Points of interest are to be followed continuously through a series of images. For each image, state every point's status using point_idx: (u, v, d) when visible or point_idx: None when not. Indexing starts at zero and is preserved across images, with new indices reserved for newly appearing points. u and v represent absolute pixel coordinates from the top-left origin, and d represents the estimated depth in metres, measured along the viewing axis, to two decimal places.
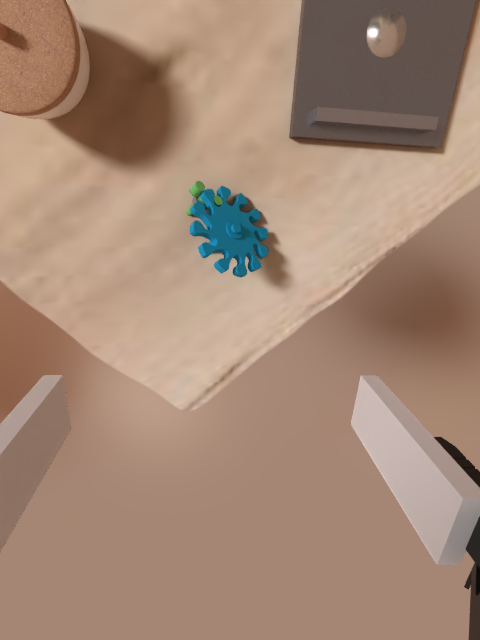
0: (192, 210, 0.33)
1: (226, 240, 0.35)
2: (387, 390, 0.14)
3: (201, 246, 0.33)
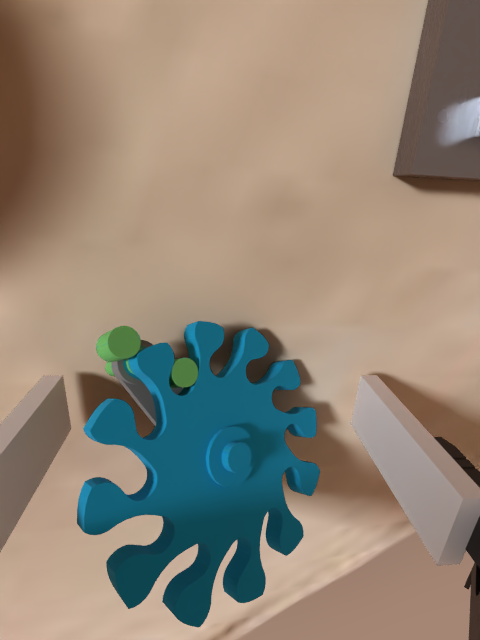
0: (89, 435, 0.10)
1: (205, 505, 0.11)
2: (387, 390, 0.14)
3: (113, 576, 0.09)
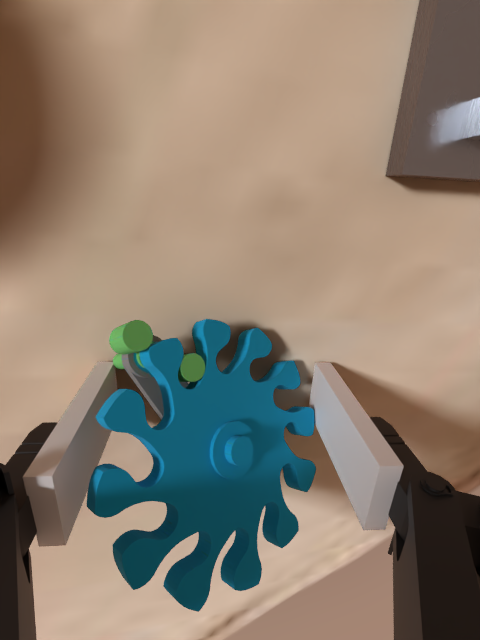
0: (101, 423, 0.10)
1: (208, 495, 0.12)
2: (336, 375, 0.15)
3: (119, 558, 0.10)
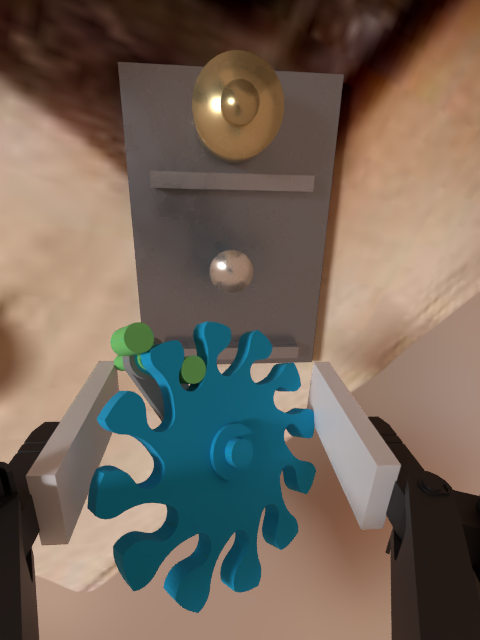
0: (102, 425, 0.10)
1: (208, 497, 0.12)
2: (335, 375, 0.15)
3: (120, 560, 0.10)
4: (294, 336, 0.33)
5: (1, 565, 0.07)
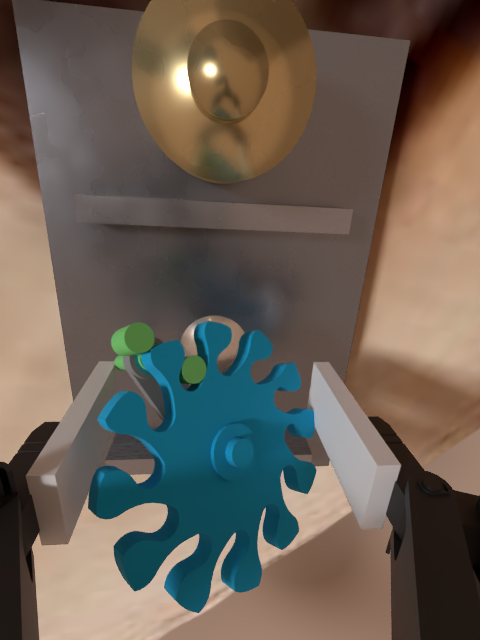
0: (103, 425, 0.10)
1: (208, 497, 0.12)
2: (335, 375, 0.15)
3: (120, 560, 0.10)
4: None
5: (1, 565, 0.07)
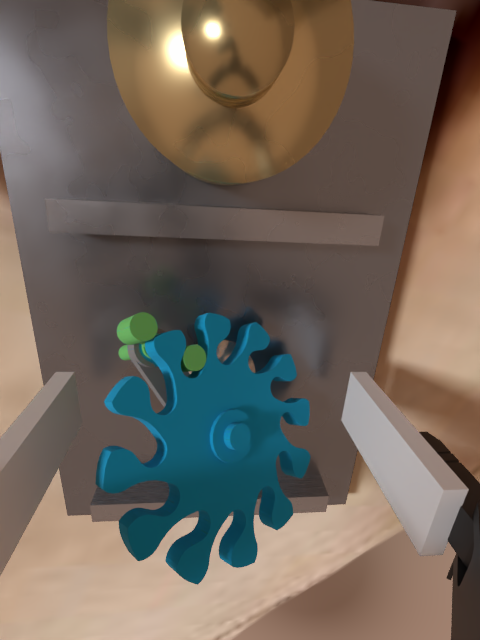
0: (109, 407, 0.11)
1: (208, 477, 0.12)
2: (376, 386, 0.14)
3: (125, 532, 0.11)
4: (320, 469, 0.20)
5: None
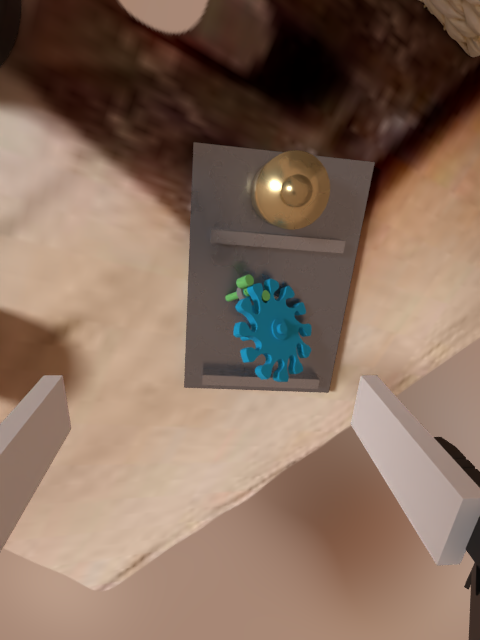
0: (238, 307, 0.30)
1: (270, 342, 0.31)
2: (387, 390, 0.14)
3: (244, 351, 0.29)
4: (315, 369, 0.38)
5: None
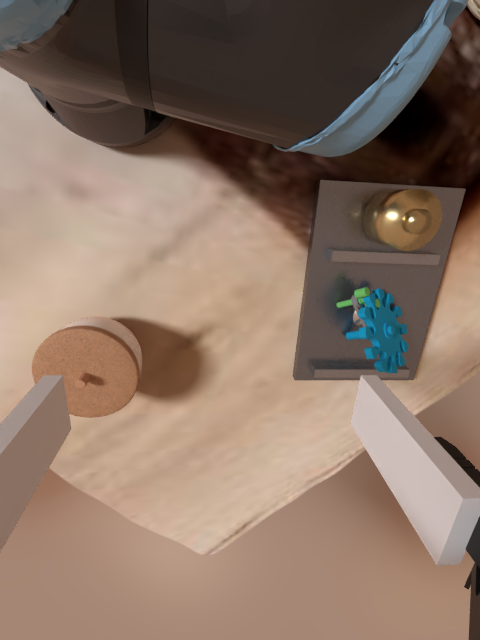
0: (361, 315, 0.36)
1: (384, 341, 0.38)
2: (387, 390, 0.14)
3: (369, 350, 0.36)
4: None
5: None
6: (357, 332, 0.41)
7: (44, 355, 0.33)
